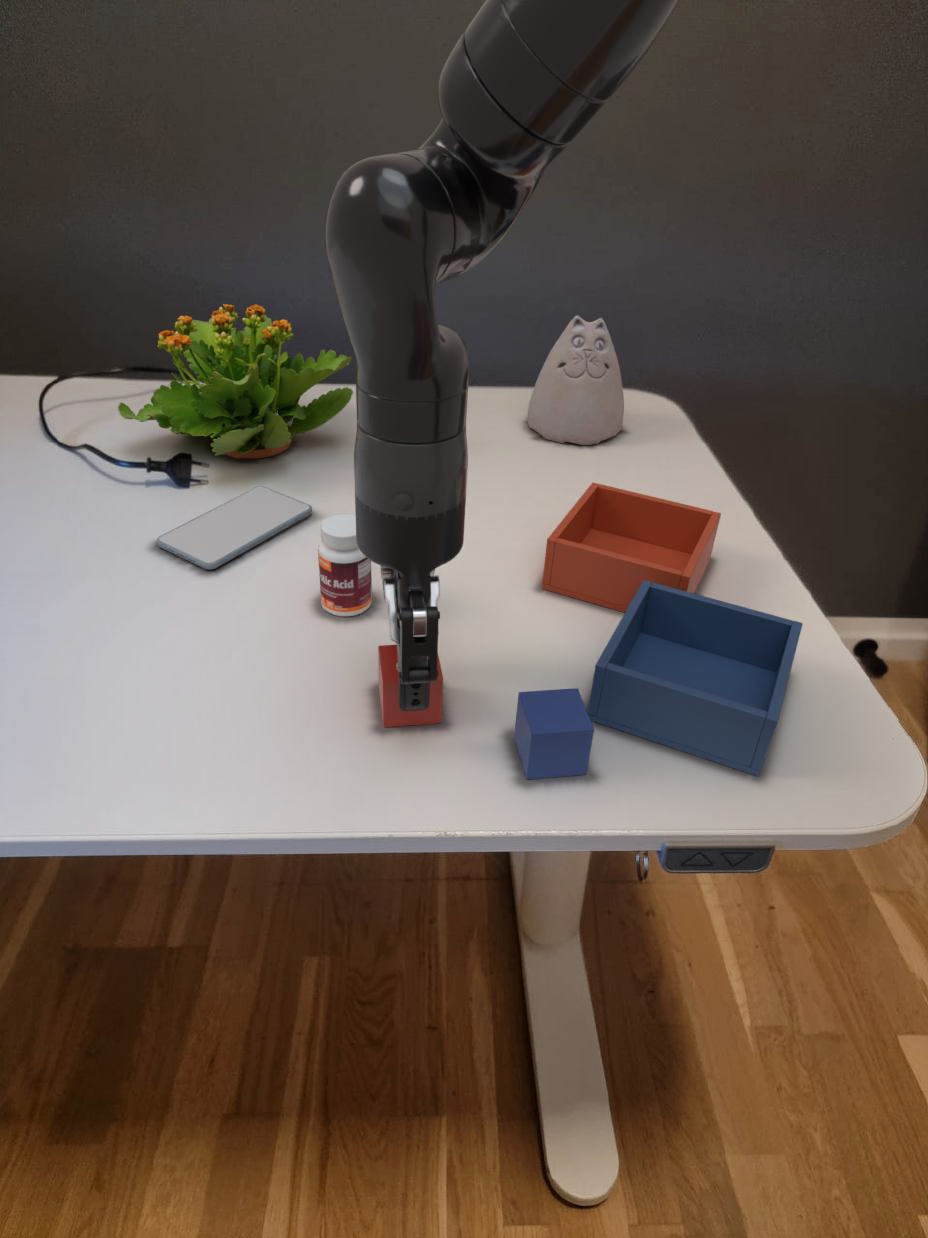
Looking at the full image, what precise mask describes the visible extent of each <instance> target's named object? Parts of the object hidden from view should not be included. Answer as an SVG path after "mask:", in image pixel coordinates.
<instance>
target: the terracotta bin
mask: <svg viewBox="0 0 928 1238" xmlns="http://www.w3.org/2000/svg"><path fill="white" fill-rule="evenodd" d="M721 516H722V513H721V512H717V511H714V510H710V509H705V508H701V507H697V506H693V505H690V504H686V503H681V502H677V501H672V500H668V499H664V498H659V497H656V496H653V495H648V494H643V493H639V492H635V491H631V490H627V489H624V488H618V487H614V486H611V485H610V486H609V485H605V484H603V483H597V482H592V483H591V484H590V485H589V486H588V488H586V489H585V491H584V492H583V493H582V495H581V496H580V497H579V499H578V500H577V502H576V503H575V504H574V505H573V506H572V508H571V509H570V510H569V511H568V512H567V514H565V516H564V517H563V518H562V519H561V521H560V523H559V524H558V525H557V526H556V528H555V529H554V530H553V532H551V534H550V535H549V536H548V538H547V539H546V546H545V555H544V564H543V572H542V582H541V590H546V591H548V592H552V593H555V594H559V595H562V596H566V597H569V598H573V599H577V600H580V601H583V602H587V603H591V604H594V605H597V606H600V607H604V608H608V609H611V610H615V611H618V612H621V613H625V612H626V610H627V609H628V607H629V605H630V603H631V601H632V600H633V598H634V596H635V594H636V593H637V591H638V589H639V587H640V586H641V584H642V582H643V580H646V581H649V582H652V583H657V584H661V585H664V586H668V587H672V588H675V589H679V590H683V591H686V592H690V593H694V594H696V591H697V589H698V587H699V585H700V582H701V580H702V578H703V576H704V574H705V571H706V569H707V568H708V565H709V563H710V561H711V557H712V553H713V549H714V546H715V545H714V544H715V541H716V536H717V534H718V533H717V532H718V528H719V524H720V520H721Z"/></svg>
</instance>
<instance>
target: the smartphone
mask: <svg viewBox="0 0 928 1238" xmlns="http://www.w3.org/2000/svg"><path fill="white" fill-rule="evenodd" d="M312 513H313V507H312V505H310V504H308V503H306V502H303V501H301V500H298V499H295V498H294V497H291V496H289V495H286V494H284V493H281V492H278V491H276V490H273V489H271V488H269V487H266V486H261V485H260V486H256V487H254V488H252V489H250V490H248V491H246V492H244V493H242V494H240V495H238V496H236V497H235V498H232V499H230V500H228V501H226V502H224V503H223V504H220V505H218V506H216V507H214V508H212V509H210V510H209V511H207V512H204V513H203V514H201V515H199V516H197V517H195V518H193V519H191V520H189V521H187V522H185V523H183V524H182V525H179V526H178V527H175V528H173V529H171V530H169V531H167V532H166V533H163V534H161V535H160V536H158V537H157V538H156V545H157V546H158V547H159V548H161V549H163V550H165V551H167V552H169V553H171V554H173V555H175V556H178V557H180V558H182V559H183V560H186V561H188V562H190V563H191V564H194V565H195V566H198V567H200V568H202V569H204V570H214V569H217V568H219V567H220V566H223V565H225V564H226V563H228V562H230V561H231V560H233V559H235V558H236V557H239V556H240V555H242V554H243V553H245V552H247V551H249V550H250V549H253V548H254V547H255V546H258V545H260V544H261V543H264V541H266V540H268V539H270V538H271V537H273V536H275V535H277V534H278V533H281V532H282V531H283V530H286V529H287V528H289V527H291V526H292V525H294V524H296V523H298V522H299V521H301V520H303V519H305V518H306V517H308V516H310V515H311V514H312Z"/></svg>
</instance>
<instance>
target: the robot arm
mask: <svg viewBox="0 0 928 1238" xmlns="http://www.w3.org/2000/svg"><path fill="white" fill-rule="evenodd" d="M679 2H680V0H485V1H484V3H483V4H482V5H481V7H480V8H479V10H478V12H477V13H476V14H475V16H474V17H473V19H472V20H471V21H470V23H469V24H468V26H467V28H466V30H464V32H463V33H462V34H461V36H460V38H459V39H458V41H457V42H456V44H455V46H453V49H452V51H451V52H450V54H449V55H448V57H447V59H446V61H445V63H444V65H443V67H442V70H441V72H440V76H439V80H438V85H437V101H438V106H439V110H440V114H441V116H442V118H441V119H440V122H439V123H438V125H437V126H436V128H435V129H434V131H433V132H432V133H431V134H430V136H429V137H428V138H427V139H426V140H425V141H424V142H423V143H422V144H421V145H420V146H419V147H417V149H416V148H415V149H411V150H405V151H400V152H394V153H385V154H379V155H375V156H370V157H366V158H363V159H361V160H359V161H357V162H355V163H353V164H352V165H350V166H349V167H348V168H347V169H345V171H344V172H343V173H342V175H340V176H339V178H338V180H337V182H336V183H335V186H334V188H333V190H332V192H331V195H330V199H329V202H328V206H327V211H326V216H325V226H324V235H325V236H324V244H325V252H326V258H327V263H328V268H329V271H330V275H331V279H332V283H333V287H334V290H335V295H336V297H337V301H338V305H339V308H340V312H341V315H342V320H343V323H344V327H345V331H346V334H347V337H348V339H349V343H350V345H351V349H352V352H353V356H354V359H355V399H356V434H355V440H354V441H355V442H354V451H353V471H354V472H353V473H354V507H355V516H356V541H357V545H358V548H359V549H360V551H361V552H362V553H363V555H364V556H365V557H367V558H368V559H369V560H371V563H374V564H376V565H379V566H380V579H381V581H382V591H383V599H384V601H385V602H386V603H387V616H388V635H389V639H390V640H391V642H394V643H395V645H397V657H398V663H396V669H397V670H398V673H399V706H400V709H401V710H402V711H418V710H425V709H427V708H428V707H429V699H430V682H437V677H438V670H437V655H438V656H439V651H438V650H439V649H438V648H439V634H440V632H439V620H440V619H441V612H440V610H439V608H438V600H439V598H440V597H441V584H440V576H439V575H438V574H437V575H436V574H435V573H436V569H437V568H439V567H441V566H443V565H446V564H448V563H449V562H450V561H451V562H452V560H454V559H455V558H456V557H457V556H458V555H459V554H460V552H461V550H462V549H463V546H464V542H465V541H464V538H465V523H466V522H465V520H466V503H467V502H466V501H467V489H468V488H467V485H468V470H469V469H468V468H469V449H468V448H469V447H468V437H467V415H468V395H469V379H470V378H469V377H470V360H469V359H470V358H469V351H468V346H467V344H466V342H465V340H464V339H463V337H462V336H461V334H460V333H459V332H457V331H456V330H455V329H454V328H453V327H450V326H448V325H446V324H444V323H442V322H441V323H440V322H438V317H437V310H436V302H435V293H436V292H435V291H436V285H438V284H442V283H444V282H447V281H451V280H453V279H455V278H458V277H460V276H463V275H464V274H466V273H468V272H469V271H471V270H473V269H474V268H476V266H477V265H479V264H480V263H481V262H482V261H483V260H484V259H486V258H487V256H489V255H490V254H491V253H492V251H493V250H494V249H495V248H496V247H497V246H498V245H499V244H500V243H501V241H502V240H503V239H504V237H505V236H506V235H507V234H508V232H509V231H510V230H511V228H512V226H513V225H514V224H515V222H516V220H517V219H518V217H519V215H520V214H521V213H522V211H523V209H524V208H525V206H526V204H527V203H528V201H529V200H530V198H531V197H532V195H533V193H534V191H536V188H537V186H538V184H539V183H540V181H541V179H542V177H543V175H544V173H545V171H546V170H547V168H548V167H549V165H550V164H551V163H552V162H553V161H554V160H555V159H556V158H558V156H559V155H560V154H561V153H562V152H563V151H564V150H565V149H566V148H567V147H568V146H569V145H570V144H571V142H572V141H573V140H574V139H575V138H576V137H577V136H578V135H579V134H580V133H581V131H582V130H583V129H584V128H585V127H586V125H588V124H589V122H590V121H591V120H592V119H593V118H594V116H595V115H596V114H597V113H598V112H599V111H600V110H601V108H603V106H604V105H605V104H606V103H607V102H608V101H609V99H610V98H612V96H613V95H614V94H615V93H616V91H618V89H619V88H620V87H621V86H622V84H623V83H624V82H625V81H627V79H628V77H630V75H631V73H632V72H633V71H634V70H635V69H636V67H637V66H638V65H639V64H640V62H641V61H642V60H643V58H644V57H645V56H646V54H647V52H648V51H649V50H650V49H651V47H652V46H653V44H654V42H655V41H656V39H657V38H658V36H659V35H660V33H662V30H663V29H664V27H665V26H666V25H667V22H668V21H669V19H670V17H671V15H672V14H673V12H674V10H675V8H676V7H677V5H678V4H679Z"/></svg>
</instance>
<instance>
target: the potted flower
mask: <svg viewBox="0 0 928 1238" xmlns="http://www.w3.org/2000/svg"><path fill="white" fill-rule="evenodd" d="M222 305H223V307H222V306H219V308H218V309H217V310H214V311H213V312H212V314H210V316H211V317H210V318H209V319H208V321H203V320H197V319H193V318H192V317H191V316H188V315H180V316H179V317H177V321H175V323H174V329H175V330H176V331H175V330H168V329H166V330H163V331H160V332H159V333H158V334H157V335H158V341H157V344H158V345H156V347H157V348H158V349H164V350H165V352H167V353H169V354H170V355H171V357H172V358H173V359H172V361H173V364H174V365H175V367H176V368H177V369H178V372H179V374H180V376H181V378H182V379H181V378H180V377H179V376H178V375H176V374H175V373H173V372H171V375H172V376H173V377H174V378H175V379H176V380H175V379H173V380H171V381H170V383H169V386H170V387H169V386H166V385H163V384H161V385H160V386H159V388H157V389H155V390H154V391H153V393H152V396H151V397H150V403H146V404H145V405H143V408H140V409H139V410H138V412H137V414H135V412H133V410H132V409H131V408H130V407H129V405H126V403H124V402H119V404H118V406H117V411H118V412H119V415H120V416H121V417H122V418H123V419H125V420H133V419H134V420H136V421H138V422H140V423H145V422H148V421H155V422H156V423H157V424H158V427H159V428H161V429H170V432H171V433H173V434H175V435H179V434H180V435H186V436H192V437H207V436H209V438H211V440H212V442H211V443H210V446H211V447H212V449H211V451H212V452H213V453H214V456H220V455H224V456H228V457H232V458H234V459H247V460H249V459H250V460H253V459H264V458H270V457H274V456H276V455H279V454H282V453H284V452H285V451H286V450H288V449H289V447H290V446H291V444H292V439H294V437H295V435H299V434H304V433H308V432H311V431H314V430H316V429H318V428H320V427H321V426H323V425H324V424H326V423H327V422H329V421H330V420H332V419H333V418H335V416H336V415H338V414H339V413H341V411H343V410H344V408H345V407H346V406H347V405H348V404H349V403H350V401H351V399H352V396H353V394H354V391H353V389H352V388H349V387H342V388H341V387H337V388H335V389H334V390H332V389H331V390H329V391H328V392H326V394H324V393H322V394H321V395H320V396H318V398H313V400H312V401H311V402H309V403H308V404H307V406H306V405H302V406H301V405H300V404H299V402H300V399H301V397H302V396H303V395H304V394H305V393H306V392H307V391H308V390H310V389H311V388H313V387H314V386H316V385H317V384H319V383H320V382H321V381H323V380H324V379H326V378H328V377H330V376H332V375H334V374H335V373H337V372H339V371H340V370H342V369H343V368H345V367H347V366H349V365H350V364H351V362H352V359H353V357H352V356H349V357H348V355H344V354H339V355H338V357H337V352H336V351H334V350H333V349H330V350H328V351H327V352H326V350H325V349H321V350H320V352H319V356H318V357H317V359H316V360H315V358H314V357H312V356H311V357H310V356H309V357H307V359H305V361H304V357H303V355H302V353H301V352H297V353H296V354H295V356H294V357H291V356H289V355H288V352H287V351H286V350H285V351H283V352H282V345H283V344H284V343H285V342H287V341H289V340H291V339H292V338H293V337H294V333H292V330H293V329H292V326H291V325H292V324H291V323H289V321H288V320H287V319H280V320H278V319H277V320H276V319H275V320H274V321H272V318H270V317H268V316H267V315H266V314H265V312H266V309H265V308H264V307H263V306H262V305H259V304H257V303H256V304H252V305H250V306H248V307H246V311H245V317H243V318H242V323H243V324H244V325H245V327H244V328H243V330H238V331H237V327H234V324H235V323H236V320H237V319H238V318H239V315H238V313H237V312H235V311H236V309H235V308H236V306H235V305H232V304H227V303H225V304H224V303H223V304H222ZM277 352H278V354H277ZM276 354H277V355H276ZM182 356H183V357H184V358H185V359H186V362H188V363H190V364H188V368H189V369H190V371H192V372H194V374H195V375H197V376H196V378H197V379H196V378H195V377H194V376H193V375H192V374H191V373H190V371H188V369H187V368H186V364H185V361H183V360H182ZM276 360H277V361H276ZM185 374H186V375H187V376H188V377H189V378H190V379H191V380H187V378H186V376H185ZM200 382H201V383H200ZM289 422H291V423H290V425H289V424H288V423H289Z"/></svg>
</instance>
